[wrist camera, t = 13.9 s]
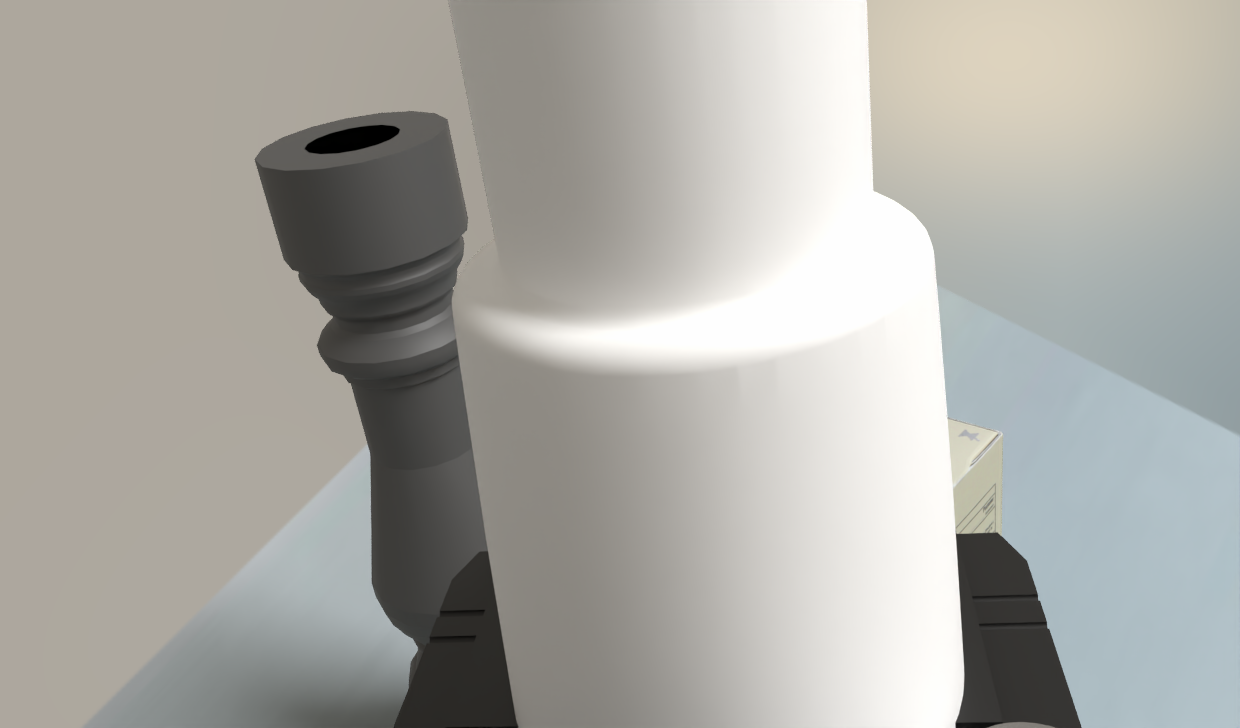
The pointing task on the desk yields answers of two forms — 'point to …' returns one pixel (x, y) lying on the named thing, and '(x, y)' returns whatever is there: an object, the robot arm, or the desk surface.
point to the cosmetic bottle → (703, 373)
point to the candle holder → (390, 333)
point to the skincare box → (976, 477)
